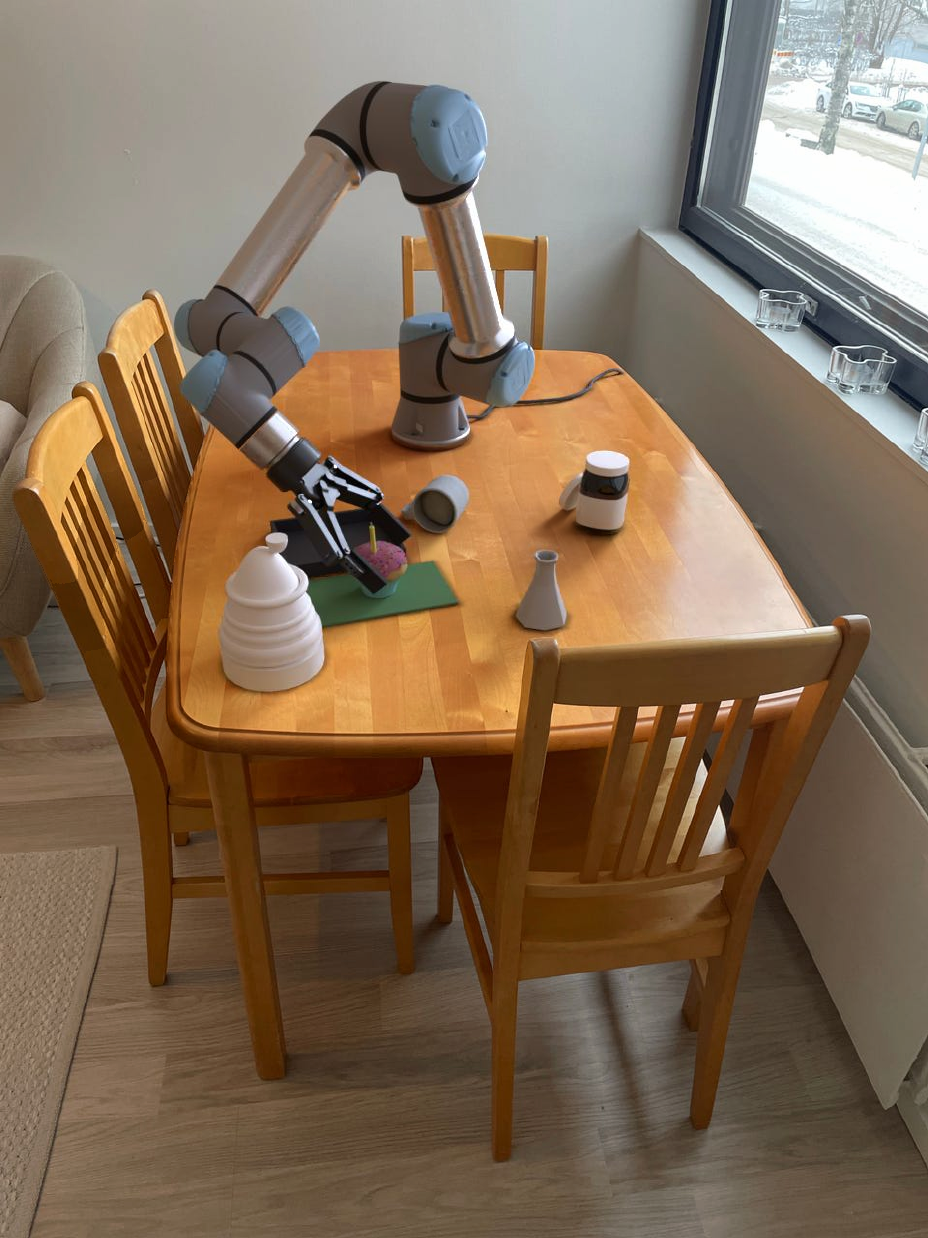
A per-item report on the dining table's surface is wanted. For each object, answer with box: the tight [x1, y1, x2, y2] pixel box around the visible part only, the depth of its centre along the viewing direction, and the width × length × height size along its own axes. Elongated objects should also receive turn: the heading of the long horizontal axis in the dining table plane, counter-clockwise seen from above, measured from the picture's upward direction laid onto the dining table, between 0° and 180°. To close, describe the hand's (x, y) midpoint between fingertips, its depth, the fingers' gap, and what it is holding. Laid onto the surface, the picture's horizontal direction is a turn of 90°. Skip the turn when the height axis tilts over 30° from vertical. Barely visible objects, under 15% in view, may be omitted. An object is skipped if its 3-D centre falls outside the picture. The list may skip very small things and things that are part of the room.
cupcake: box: [354, 523, 409, 598], centre depth 128 cm, size 9×8×12 cm
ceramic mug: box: [401, 474, 470, 534], centre depth 148 cm, size 11×8×8 cm
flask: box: [515, 549, 568, 631], centre depth 125 cm, size 7×7×10 cm
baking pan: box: [269, 508, 407, 579], centre depth 141 cm, size 18×15×2 cm
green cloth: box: [306, 560, 459, 628], centre depth 131 cm, size 20×12×1 cm, turn 109°
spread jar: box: [558, 450, 631, 536], centre depth 148 cm, size 12×11×12 cm
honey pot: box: [218, 533, 325, 693], centre depth 113 cm, size 13×13×18 cm
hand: (393, 563), depth 129 cm, fingers open, 13 cm apart
